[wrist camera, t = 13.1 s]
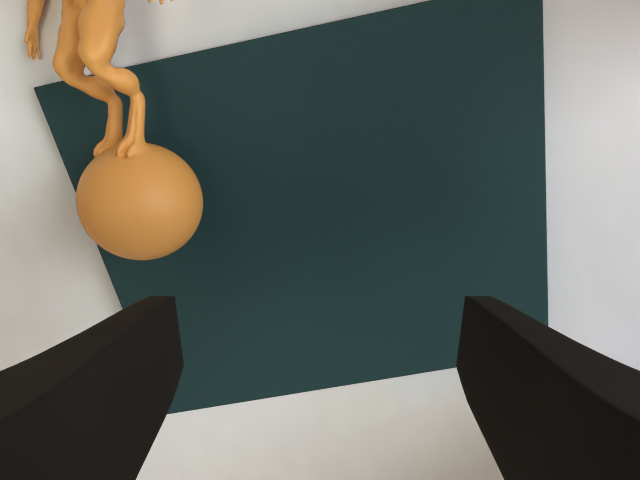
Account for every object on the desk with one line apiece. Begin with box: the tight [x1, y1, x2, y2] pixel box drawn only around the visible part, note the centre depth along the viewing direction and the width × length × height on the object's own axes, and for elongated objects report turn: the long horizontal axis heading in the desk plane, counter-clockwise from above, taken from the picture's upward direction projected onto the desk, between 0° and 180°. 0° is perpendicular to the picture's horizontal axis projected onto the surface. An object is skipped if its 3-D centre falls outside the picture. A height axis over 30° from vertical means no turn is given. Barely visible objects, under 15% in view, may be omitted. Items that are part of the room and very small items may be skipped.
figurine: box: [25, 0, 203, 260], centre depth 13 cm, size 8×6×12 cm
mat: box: [34, 0, 548, 414], centre depth 18 cm, size 18×15×1 cm
